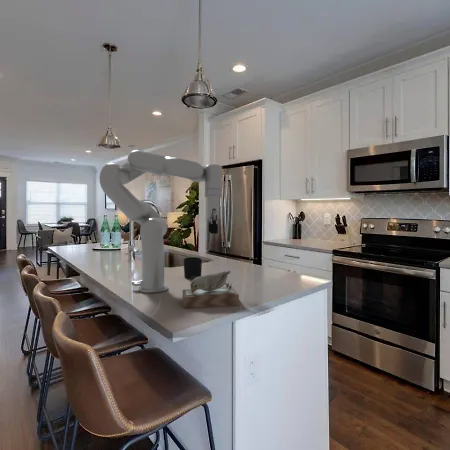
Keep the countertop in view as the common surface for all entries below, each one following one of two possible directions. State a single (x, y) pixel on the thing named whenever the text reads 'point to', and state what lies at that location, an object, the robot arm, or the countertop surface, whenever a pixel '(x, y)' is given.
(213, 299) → the walnut plinth
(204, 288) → the decorative bird
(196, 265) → the pen holder
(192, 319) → the countertop surface
